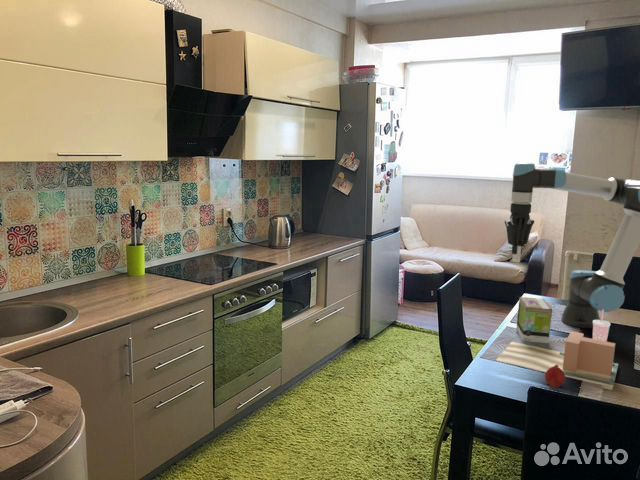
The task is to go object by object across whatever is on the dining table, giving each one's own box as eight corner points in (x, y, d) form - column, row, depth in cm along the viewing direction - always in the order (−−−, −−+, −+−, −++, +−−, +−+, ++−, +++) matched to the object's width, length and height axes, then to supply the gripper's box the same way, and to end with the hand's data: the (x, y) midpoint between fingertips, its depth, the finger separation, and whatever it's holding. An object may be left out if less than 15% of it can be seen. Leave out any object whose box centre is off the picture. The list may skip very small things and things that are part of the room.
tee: (568, 358, 189) (571, 331, 187) (612, 367, 181) (616, 339, 180) (562, 369, 179) (565, 341, 177) (609, 380, 171) (613, 350, 170)
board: (511, 344, 204) (511, 340, 204) (618, 366, 185) (618, 362, 184) (495, 363, 186) (496, 358, 185) (612, 390, 167) (612, 385, 166)
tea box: (549, 346, 203) (553, 308, 200) (521, 343, 205) (525, 306, 202) (541, 332, 217) (544, 297, 215) (515, 330, 219) (518, 295, 217)
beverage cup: (607, 348, 201) (611, 313, 199) (589, 345, 205) (593, 310, 202) (608, 343, 206) (612, 309, 204) (591, 340, 210) (594, 306, 207)
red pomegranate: (540, 384, 170) (542, 360, 168) (557, 384, 170) (560, 360, 169) (549, 392, 164) (552, 368, 163) (567, 392, 164) (570, 368, 163)
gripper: (527, 201, 213) (522, 259, 218) (501, 202, 209) (496, 260, 213) (541, 203, 207) (535, 262, 211) (514, 204, 202) (509, 264, 206)
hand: (516, 261), depth 212 cm, fingers closed
